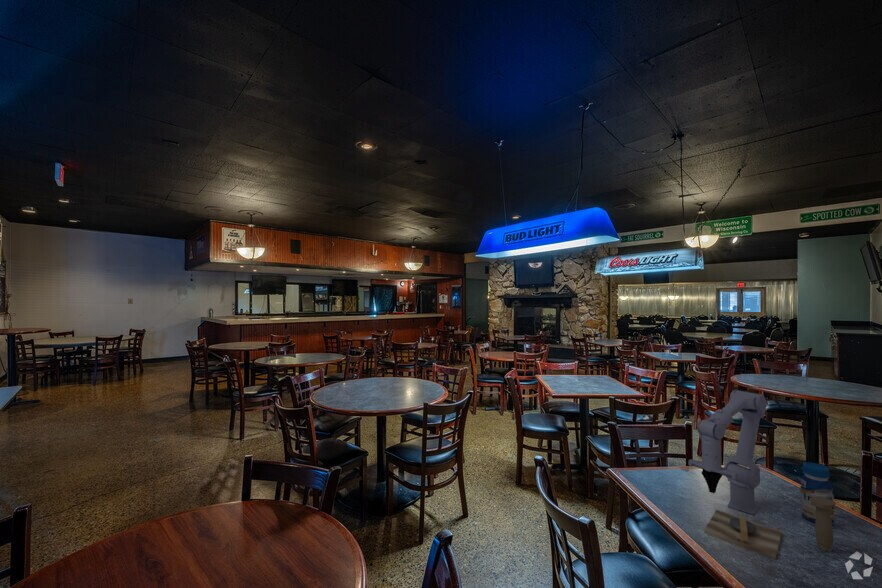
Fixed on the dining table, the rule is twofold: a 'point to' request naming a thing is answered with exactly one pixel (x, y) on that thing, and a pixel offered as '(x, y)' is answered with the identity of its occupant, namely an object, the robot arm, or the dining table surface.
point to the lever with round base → (743, 527)
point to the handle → (823, 522)
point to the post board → (759, 542)
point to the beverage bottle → (814, 490)
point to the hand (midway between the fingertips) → (712, 491)
